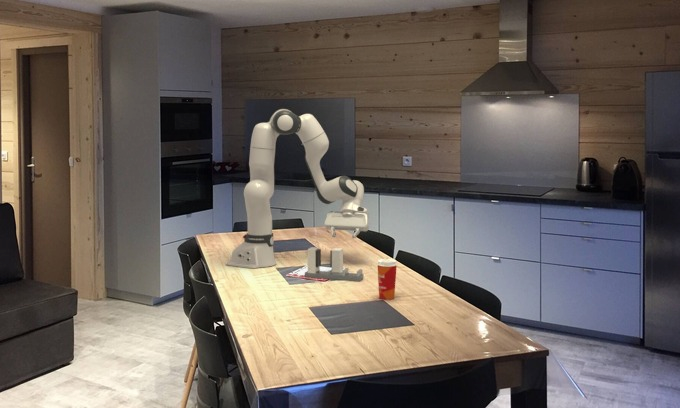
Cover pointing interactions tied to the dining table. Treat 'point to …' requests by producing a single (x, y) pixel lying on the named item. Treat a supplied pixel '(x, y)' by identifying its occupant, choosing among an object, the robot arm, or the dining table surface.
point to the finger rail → (315, 272)
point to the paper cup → (386, 278)
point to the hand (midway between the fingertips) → (343, 236)
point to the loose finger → (336, 259)
